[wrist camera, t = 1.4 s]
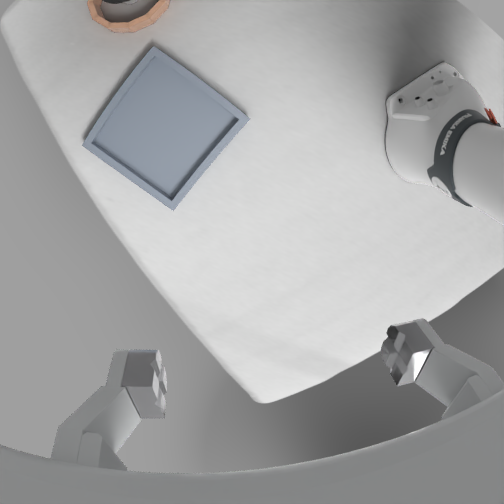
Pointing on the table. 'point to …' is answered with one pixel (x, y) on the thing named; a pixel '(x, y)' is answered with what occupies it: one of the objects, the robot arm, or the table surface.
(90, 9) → the ring
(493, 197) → the robot arm
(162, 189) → the tray
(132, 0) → the light bulb
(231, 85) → the table surface
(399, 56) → the table surface
